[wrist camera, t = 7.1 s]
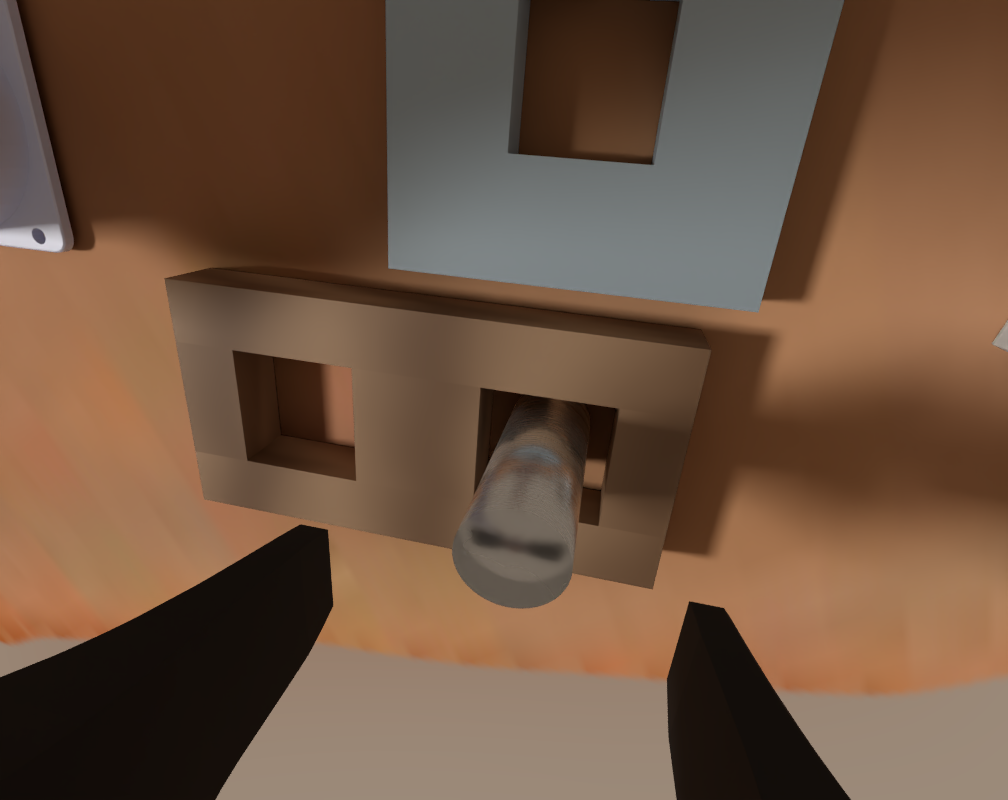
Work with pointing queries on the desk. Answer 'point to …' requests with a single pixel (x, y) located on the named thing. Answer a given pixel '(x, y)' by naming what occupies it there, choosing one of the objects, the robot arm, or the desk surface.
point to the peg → (527, 506)
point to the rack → (429, 406)
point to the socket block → (601, 184)
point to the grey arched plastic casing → (1002, 338)
